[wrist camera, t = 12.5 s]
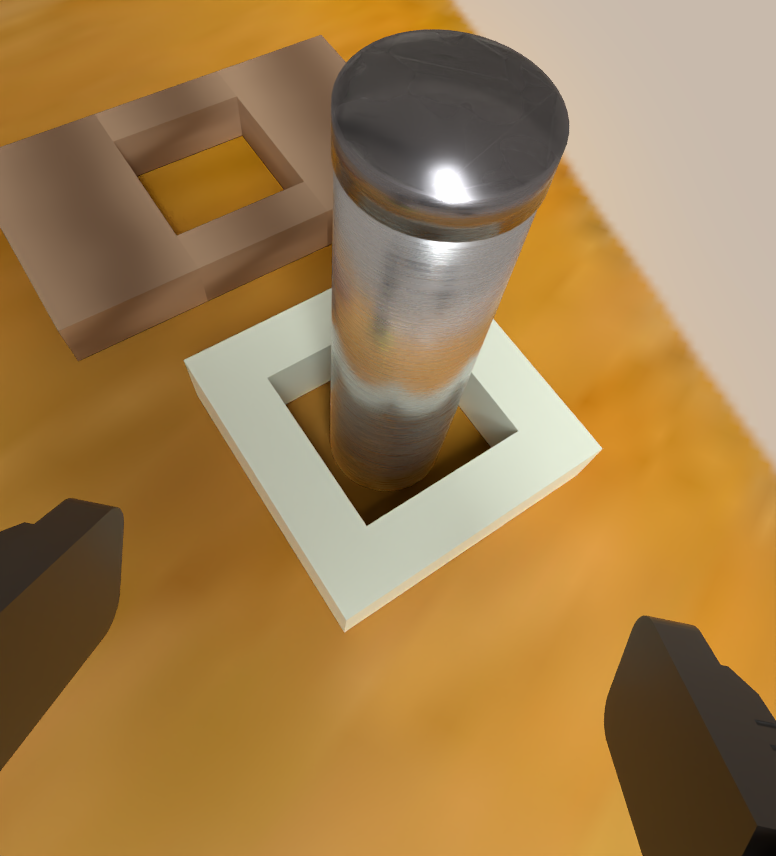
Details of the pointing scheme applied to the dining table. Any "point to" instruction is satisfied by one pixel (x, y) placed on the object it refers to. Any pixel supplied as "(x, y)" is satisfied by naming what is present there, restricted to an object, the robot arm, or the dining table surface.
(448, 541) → the white square frame
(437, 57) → the silver metal cylinder
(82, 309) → the brown rectangular frame
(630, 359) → the dining table surface
